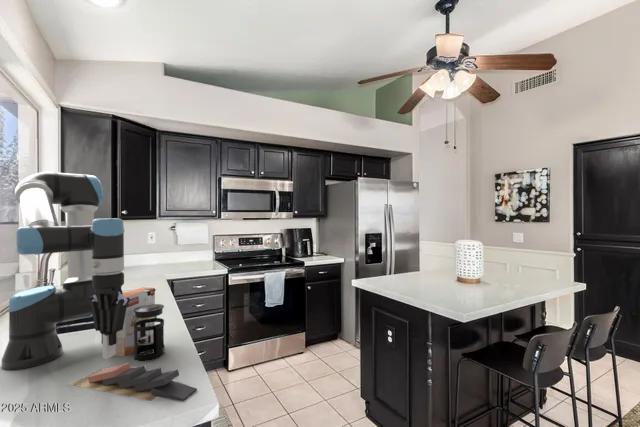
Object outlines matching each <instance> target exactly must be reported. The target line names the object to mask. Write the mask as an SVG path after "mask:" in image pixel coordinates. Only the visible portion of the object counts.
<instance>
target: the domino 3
mask: <svg viewBox="0 0 640 427" xmlns="http://www.w3.org/2000/svg"><path fill="white" fill-rule="evenodd" d="M179 376H180V373H179V369H174V370H170V371H165V372H162V374H161V375H159V376H157V377H156V378H154V379H153V380H151V381H149V382H148V383H144V384H139V385H136V386H135V389H136V392H139V391H143V390H147V389H150V388H154V387H158V386H162V385H166V384H167V383H168V382H170V381H171V380H173V381H174V380H175V379H176V378H177V377H179Z"/></svg>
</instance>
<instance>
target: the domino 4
mask: <svg viewBox="0 0 640 427" xmlns="http://www.w3.org/2000/svg"><path fill="white" fill-rule="evenodd" d="M197 390H198V388H197V387H194V386H191V385H188V384H184V383H182V382H179V381H176V380H174V379H173V380H171V381H170V382H168V383H167V384H166V385H162V386H158V387H154V388H152V392H151V394H152V395H155V396H157V397H159V398H163V399H168V400H174V401H179V402H185V401H186V400H187V399H189V398H190V396H192V395H193V394H195V393H196V392H197Z"/></svg>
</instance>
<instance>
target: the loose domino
mask: <svg viewBox="0 0 640 427" xmlns="http://www.w3.org/2000/svg"><path fill="white" fill-rule="evenodd" d="M131 368H132V367H131V364H130V362H127V363H123V364H120V365H119V364H118V365H115V366H111V367H106V368H104V369H103V370H101V369H100V370H101V371H99V370H98V371H99V372H97V371H96V372H97V373H95V372H94V373H95V374H93V373H92V374H93V375H91V376H89V377H88V380H89V383H90V382H95V381H99V380H104V379H108V378H113V377H116V376H118V375H120V374H121V373H123V372H125V371H127V370H129V369H131Z"/></svg>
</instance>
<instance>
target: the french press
mask: <svg viewBox="0 0 640 427" xmlns="http://www.w3.org/2000/svg"><path fill="white" fill-rule="evenodd" d="M153 291H157V289H156V288H155V289H146V290H143V291H142V292H147V296H148V305H144V306H140V307H137V308H135V309H134V312H135V317H137V318H149V319H145V320H141V321H138V322H136V323H135V324H134V352H133V360H134V361H136V362H141V363H142V362H150V361H154V360H157V359H159V358H162V357H163V356H164V355H165V344H164V342H165V341H164V340H165V339H164V338H165V337H164V336H165V335H164V330H165V329H164V325H165V319H164V318H161V317H160V318H159V317H158V316H160V315H162V314H163V311H164V310H163V309H164V308H165V305H164V304H160V303H159V304H158V303H155V304H151V305H150V295H151V292H153ZM150 317H155V318H151V319H150ZM150 322H155V323H158V324H155V325H154V326H150ZM145 323H149V326H148V327H146V324H145ZM138 325H140V327H137V326H138ZM150 330H153V335H150ZM137 331H140V338H138V339H137ZM146 331H149V335H147V336H146ZM137 345H138V346H140V347H138V348H137ZM149 351H152V352H149ZM145 352H148V353H145Z"/></svg>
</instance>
